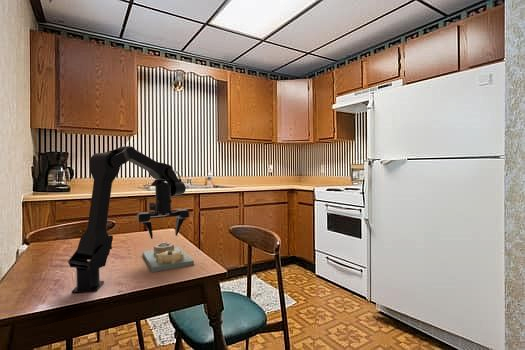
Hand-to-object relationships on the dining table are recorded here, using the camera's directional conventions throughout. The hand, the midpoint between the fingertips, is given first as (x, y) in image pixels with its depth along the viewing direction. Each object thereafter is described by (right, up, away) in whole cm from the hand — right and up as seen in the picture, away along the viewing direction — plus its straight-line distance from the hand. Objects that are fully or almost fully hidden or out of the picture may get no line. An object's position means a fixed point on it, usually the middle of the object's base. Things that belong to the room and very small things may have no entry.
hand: (164, 237), depth 113 cm
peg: (0, -6, 0) cm, 6 cm away
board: (+2, -8, -4) cm, 9 cm away
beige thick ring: (0, -6, 0) cm, 6 cm away
